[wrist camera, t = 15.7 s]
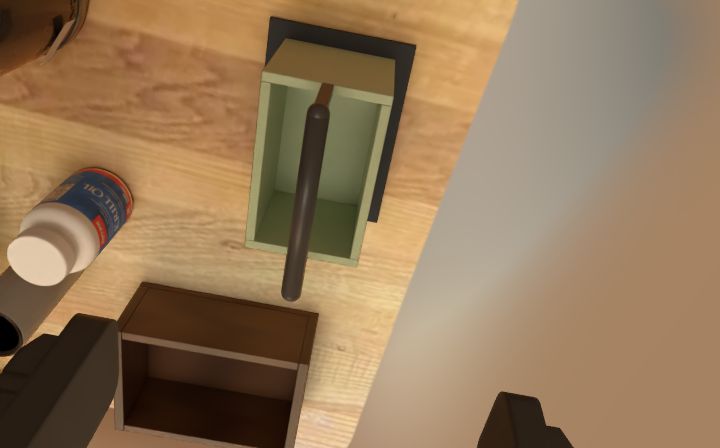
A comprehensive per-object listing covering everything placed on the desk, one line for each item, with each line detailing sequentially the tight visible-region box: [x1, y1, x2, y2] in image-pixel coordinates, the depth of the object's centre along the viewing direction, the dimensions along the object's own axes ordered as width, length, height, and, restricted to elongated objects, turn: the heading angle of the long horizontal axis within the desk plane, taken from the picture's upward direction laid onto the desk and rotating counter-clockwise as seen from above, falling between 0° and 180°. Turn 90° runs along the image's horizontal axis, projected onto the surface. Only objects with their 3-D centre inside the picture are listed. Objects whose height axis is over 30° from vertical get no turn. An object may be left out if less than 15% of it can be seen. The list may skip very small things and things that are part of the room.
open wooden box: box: [114, 282, 319, 448], centre depth 53 cm, size 16×11×6 cm
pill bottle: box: [7, 168, 133, 286], centre depth 44 cm, size 6×5×10 cm
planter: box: [0, 266, 85, 357], centre depth 47 cm, size 4×4×10 cm
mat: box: [265, 17, 416, 223], centre depth 44 cm, size 10×14×1 cm
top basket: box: [245, 38, 395, 302], centre depth 39 cm, size 13×8×13 cm, turn 170°
